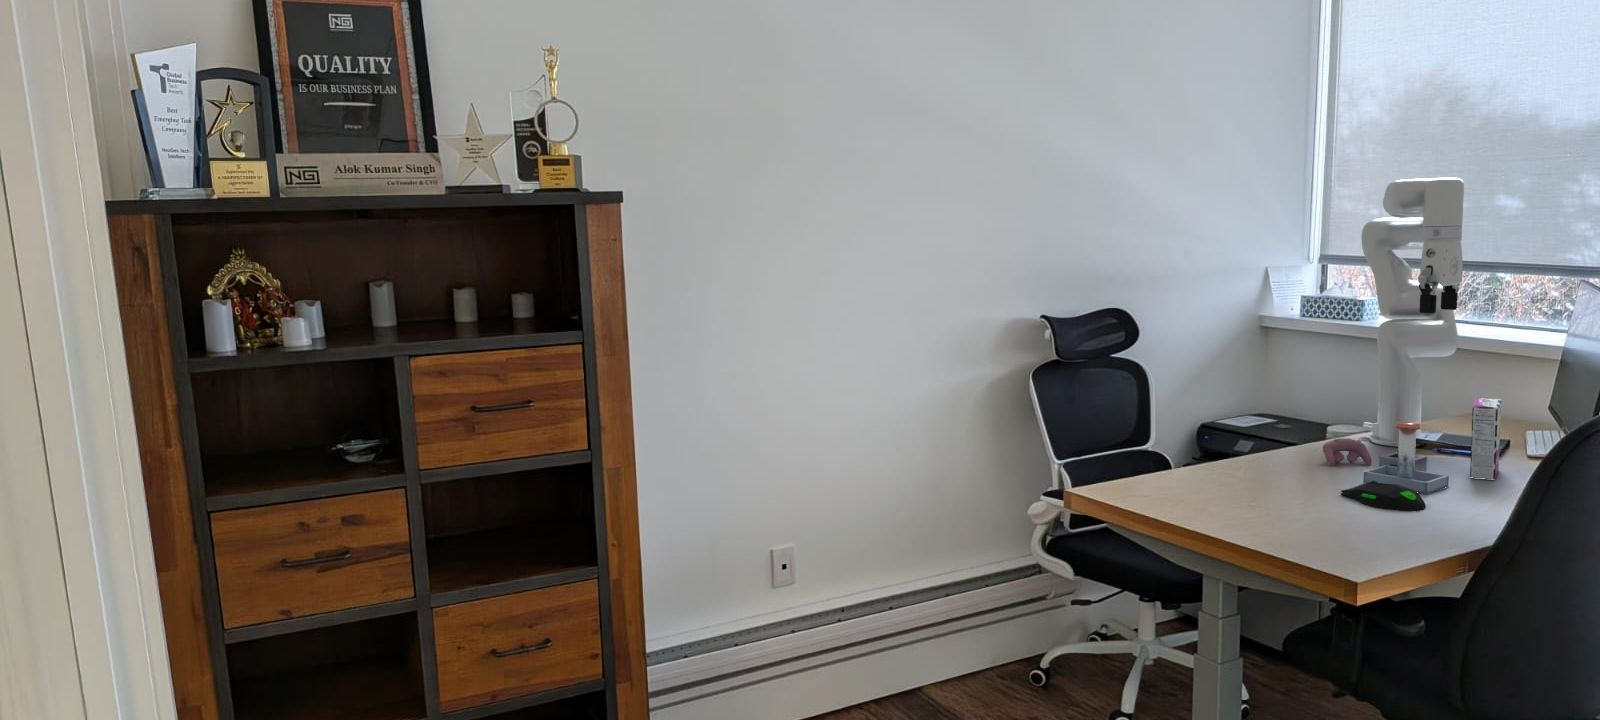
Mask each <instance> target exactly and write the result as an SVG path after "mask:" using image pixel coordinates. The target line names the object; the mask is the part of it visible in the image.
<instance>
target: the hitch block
mask: <svg viewBox="0 0 1600 720" xmlns="http://www.w3.org/2000/svg"><path fill="white" fill-rule="evenodd" d="M1427 462H1428V457H1427V456H1424V455H1418V454H1415V470H1418V471H1424V472H1427V465H1428V463H1427ZM1384 465H1388V466H1394V467H1398V451H1393V452H1390V453H1387V454H1386V453H1385V454H1382V455H1378V467H1381V466H1384Z"/></svg>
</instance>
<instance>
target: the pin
mask: <svg viewBox="0 0 1600 720" xmlns="http://www.w3.org/2000/svg"><path fill="white" fill-rule="evenodd" d="M1396 428H1398V429H1399V446H1398V447H1397V448H1398V449H1397V450H1398V451H1397V452H1398V470H1397V477H1401V478H1406V479H1412V480H1414V473H1415V455H1416V450H1417V449H1416V448H1417V447H1416V430H1418V429H1420V430H1421V427H1420V423H1417V422H1411V421H1398V422H1396Z"/></svg>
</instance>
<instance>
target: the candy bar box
mask: <svg viewBox="0 0 1600 720" xmlns="http://www.w3.org/2000/svg"><path fill="white" fill-rule="evenodd" d="M1501 415H1502V399H1500V398H1485V397H1477V398H1476V399H1475V401H1474V404H1473V406H1472V415H1471V416H1472V417H1471V438H1470V439H1471V445H1470V447H1471V448H1470V451H1471V452H1470V467H1469V468H1470V471H1469V477H1473V478H1485V479H1495V478H1496V479H1497V476H1498V472H1499V467H1500V445H1501V443H1500V440H1501V439H1500V438H1501V421H1502V420H1501ZM1473 478H1472V479H1473ZM1496 479H1495V480H1496Z"/></svg>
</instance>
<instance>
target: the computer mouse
mask: <svg viewBox="0 0 1600 720" xmlns="http://www.w3.org/2000/svg"><path fill="white" fill-rule="evenodd" d="M1340 492H1341V493H1340V496H1341V495H1342V497H1344V498H1347V499H1350V500H1352V501H1355V502H1357V503H1360V504H1361V505H1362V506H1366V507H1369V508H1373V509H1378V510H1384V511H1385V510H1386V511H1399V512H1412V511H1416V512H1421V511H1420V510H1422V511H1424V510H1425V509H1426V507H1427V505H1426V502H1425V501H1424V499H1423V498H1422V496H1421V495H1420V493H1417V492H1416V491H1414V490H1412V489H1409V488H1406V487H1403V486H1400V485H1396V484H1385V483H1378V482H1376V481H1371V482H1369V483H1362V484H1360V485H1356V486H1354V487H1350V488H1346V489H1341V490H1340Z"/></svg>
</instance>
